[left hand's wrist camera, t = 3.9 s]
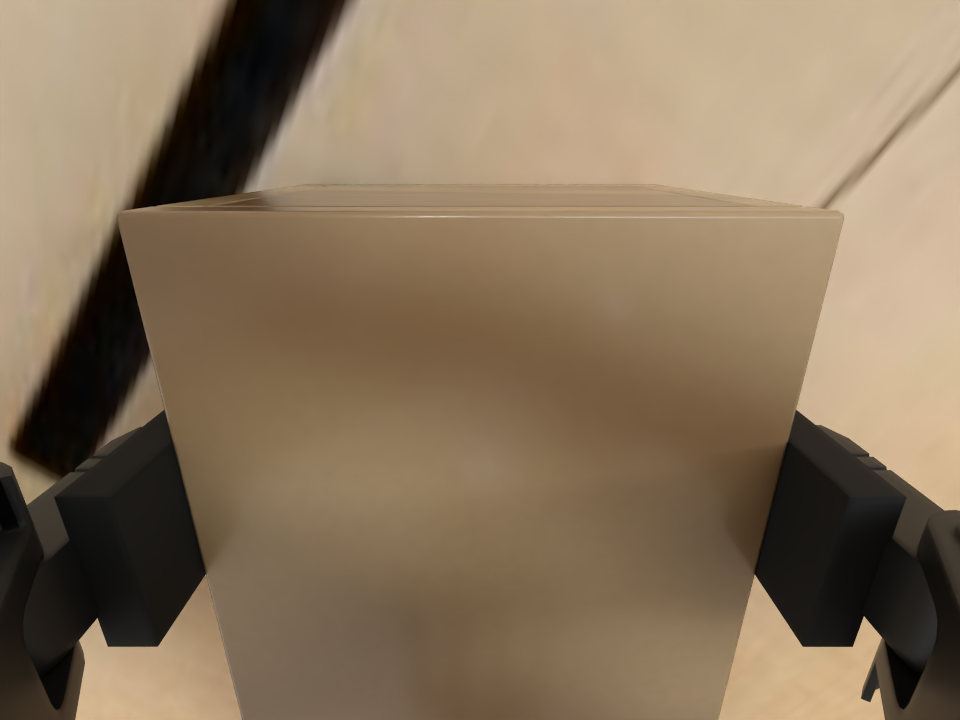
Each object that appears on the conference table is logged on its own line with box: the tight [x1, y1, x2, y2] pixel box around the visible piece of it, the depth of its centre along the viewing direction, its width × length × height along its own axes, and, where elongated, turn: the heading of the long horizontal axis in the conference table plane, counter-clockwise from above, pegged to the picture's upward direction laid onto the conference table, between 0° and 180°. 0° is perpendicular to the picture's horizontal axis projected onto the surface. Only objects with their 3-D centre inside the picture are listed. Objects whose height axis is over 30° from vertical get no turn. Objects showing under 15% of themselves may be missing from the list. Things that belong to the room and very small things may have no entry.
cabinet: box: [117, 185, 844, 720], centre depth 14 cm, size 21×10×8 cm, turn 0°
